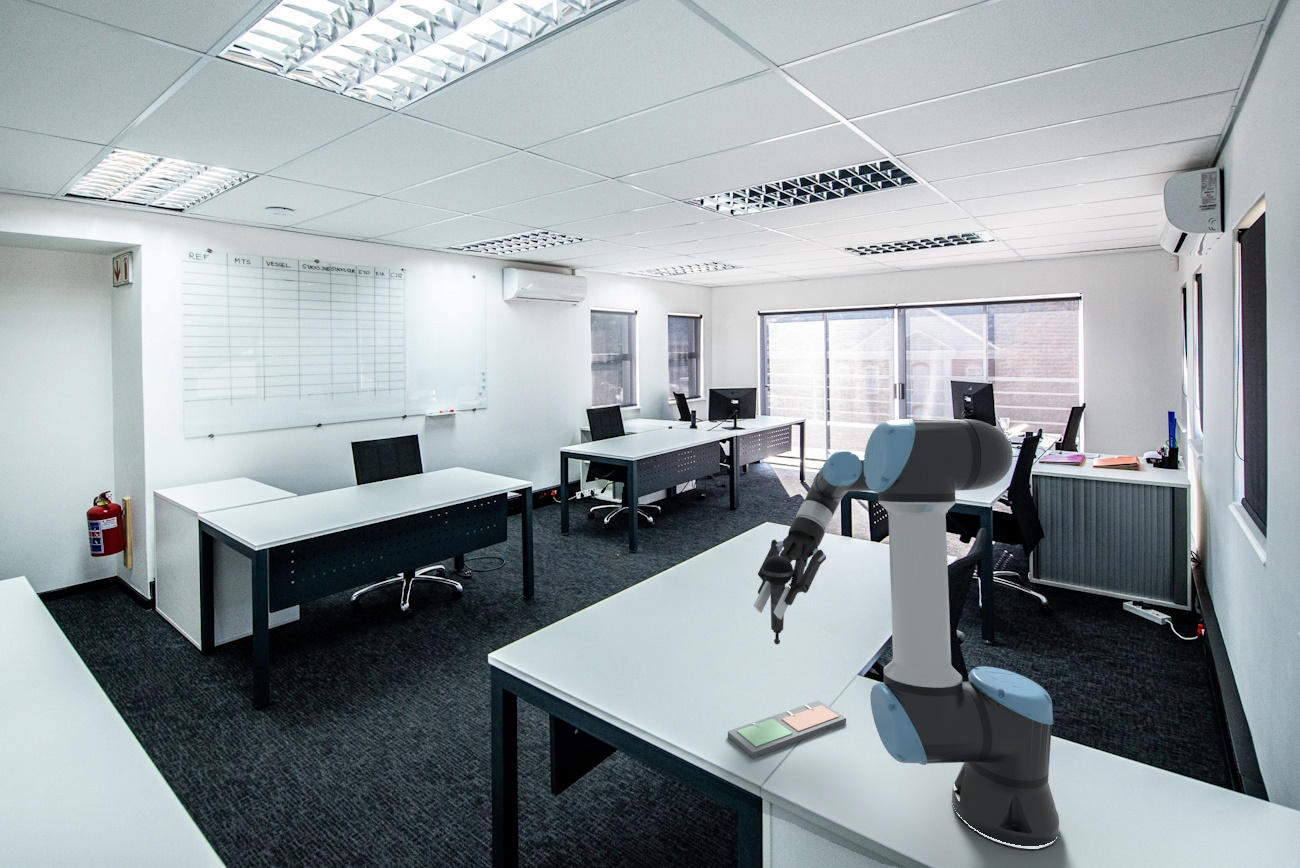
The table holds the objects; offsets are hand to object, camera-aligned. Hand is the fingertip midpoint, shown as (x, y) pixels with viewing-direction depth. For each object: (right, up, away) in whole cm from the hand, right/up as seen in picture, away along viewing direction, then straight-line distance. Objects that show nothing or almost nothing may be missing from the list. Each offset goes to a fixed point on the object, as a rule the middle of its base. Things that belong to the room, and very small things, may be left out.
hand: (767, 612), depth 136 cm
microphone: (+3, -8, +3) cm, 9 cm away
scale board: (+2, -21, -9) cm, 23 cm away
